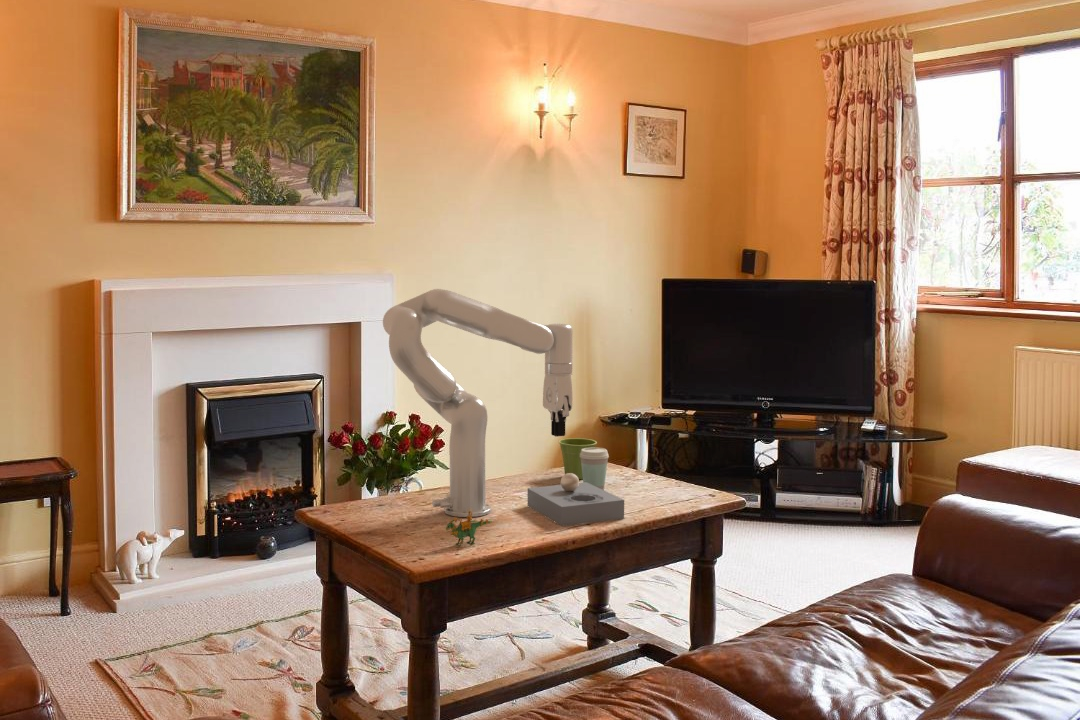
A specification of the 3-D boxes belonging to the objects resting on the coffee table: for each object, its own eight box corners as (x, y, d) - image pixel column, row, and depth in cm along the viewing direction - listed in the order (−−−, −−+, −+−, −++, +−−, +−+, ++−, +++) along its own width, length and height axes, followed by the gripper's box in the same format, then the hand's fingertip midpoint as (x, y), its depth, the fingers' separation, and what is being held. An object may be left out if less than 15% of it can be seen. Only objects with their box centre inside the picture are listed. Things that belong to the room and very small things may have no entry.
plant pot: (585, 483, 303) (586, 446, 302) (551, 478, 309) (551, 442, 308) (603, 475, 314) (603, 440, 312) (569, 471, 319) (569, 436, 318)
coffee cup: (609, 487, 299) (609, 447, 297) (608, 494, 290) (608, 453, 289) (580, 486, 299) (580, 446, 298) (578, 493, 291) (578, 452, 290)
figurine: (443, 545, 240) (443, 512, 239) (489, 538, 245) (489, 506, 244) (448, 549, 237) (448, 515, 236) (494, 542, 242) (494, 509, 242)
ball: (565, 494, 269) (565, 476, 268) (557, 490, 274) (557, 472, 273) (582, 492, 271) (582, 474, 270) (574, 488, 276) (574, 470, 275)
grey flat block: (561, 526, 256) (561, 506, 256) (527, 506, 276) (527, 488, 276) (624, 518, 264) (624, 499, 263) (586, 499, 284) (586, 482, 283)
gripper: (534, 366, 281) (534, 431, 283) (558, 373, 267) (557, 441, 269) (559, 365, 284) (558, 430, 286) (583, 371, 270) (582, 439, 272)
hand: (558, 435), depth 278 cm, fingers closed
